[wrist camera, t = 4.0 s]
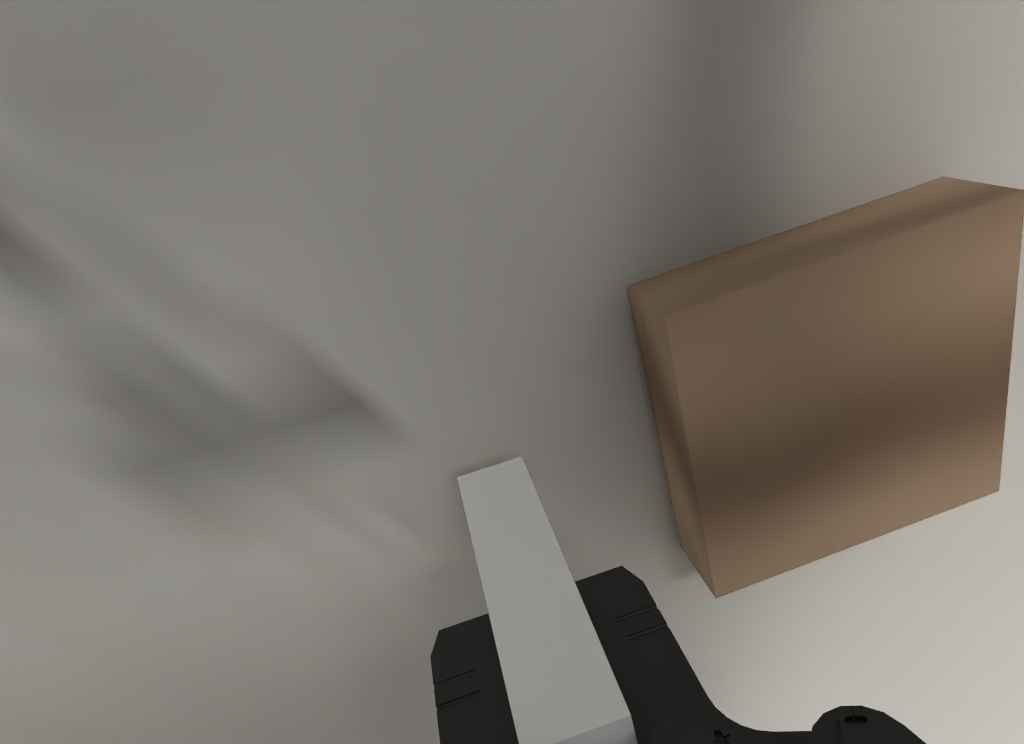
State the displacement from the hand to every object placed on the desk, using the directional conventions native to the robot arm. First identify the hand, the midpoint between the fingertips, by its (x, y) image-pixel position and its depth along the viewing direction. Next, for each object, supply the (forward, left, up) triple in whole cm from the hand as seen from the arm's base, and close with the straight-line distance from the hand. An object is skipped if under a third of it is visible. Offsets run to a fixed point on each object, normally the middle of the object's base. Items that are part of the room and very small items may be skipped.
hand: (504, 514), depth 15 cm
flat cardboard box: (0, +8, -2) cm, 9 cm away
